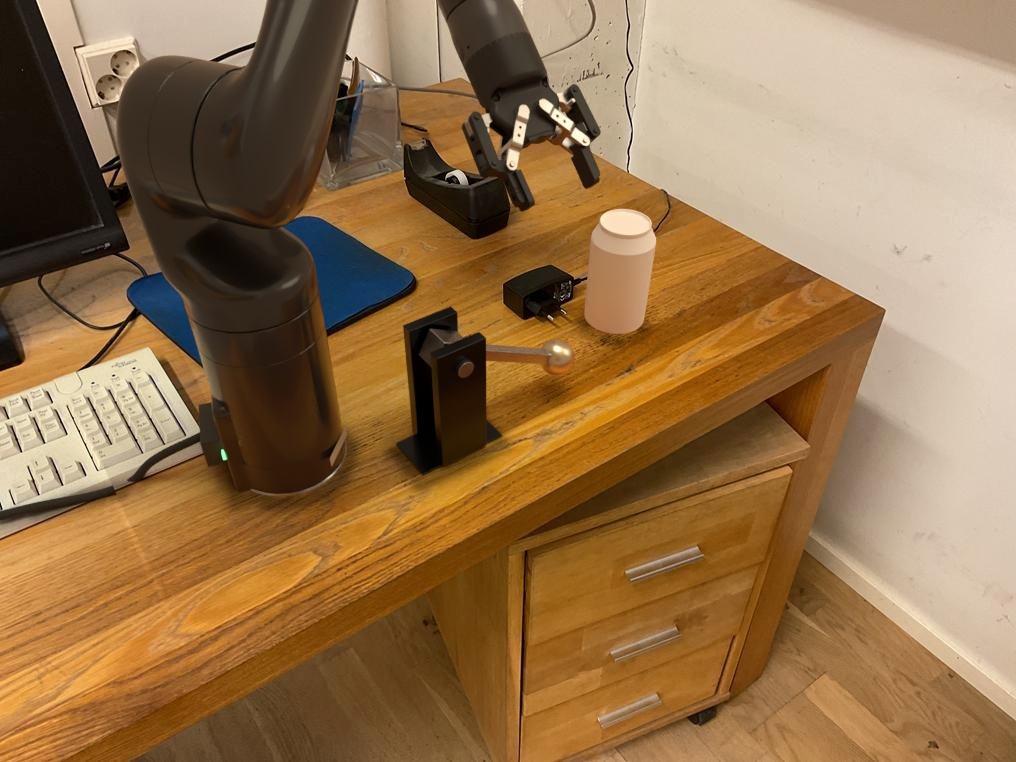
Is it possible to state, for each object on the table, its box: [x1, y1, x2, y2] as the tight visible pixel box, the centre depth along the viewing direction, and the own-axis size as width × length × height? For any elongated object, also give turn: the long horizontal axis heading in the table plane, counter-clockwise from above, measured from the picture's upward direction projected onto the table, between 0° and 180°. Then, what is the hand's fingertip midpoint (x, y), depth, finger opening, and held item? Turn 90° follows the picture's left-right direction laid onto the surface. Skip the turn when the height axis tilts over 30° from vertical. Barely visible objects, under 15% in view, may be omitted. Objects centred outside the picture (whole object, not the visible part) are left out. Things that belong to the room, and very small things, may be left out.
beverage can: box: [583, 208, 657, 335], centre depth 80 cm, size 6×6×12 cm
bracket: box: [395, 306, 503, 477], centre depth 66 cm, size 8×6×13 cm
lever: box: [419, 329, 575, 376], centre depth 68 cm, size 16×3×3 cm, turn 126°
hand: (561, 196), depth 83 cm, fingers open, 8 cm apart
